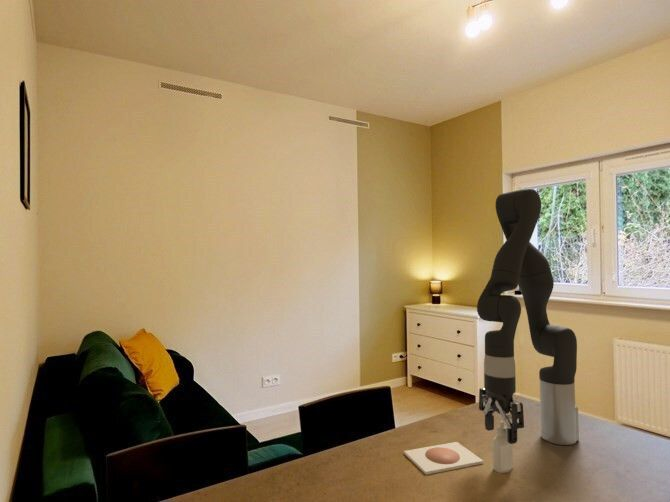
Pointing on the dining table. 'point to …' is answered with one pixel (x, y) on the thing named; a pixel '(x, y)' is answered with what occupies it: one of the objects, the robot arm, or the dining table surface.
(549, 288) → the robot arm
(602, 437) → the dining table surface
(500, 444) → the eye dropper bottle
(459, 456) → the card
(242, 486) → the dining table surface
